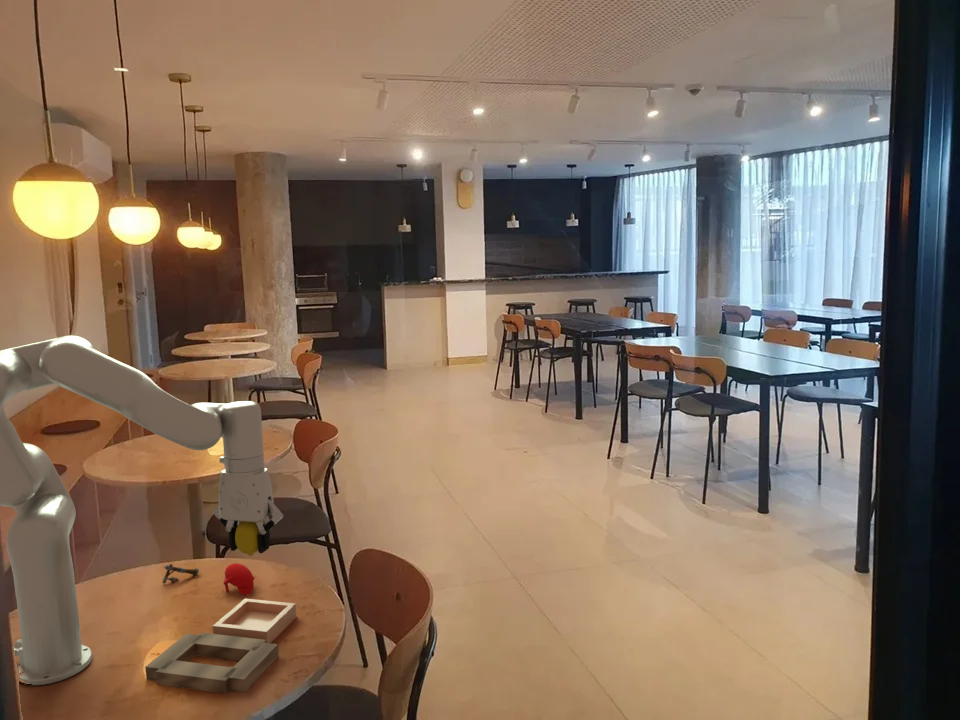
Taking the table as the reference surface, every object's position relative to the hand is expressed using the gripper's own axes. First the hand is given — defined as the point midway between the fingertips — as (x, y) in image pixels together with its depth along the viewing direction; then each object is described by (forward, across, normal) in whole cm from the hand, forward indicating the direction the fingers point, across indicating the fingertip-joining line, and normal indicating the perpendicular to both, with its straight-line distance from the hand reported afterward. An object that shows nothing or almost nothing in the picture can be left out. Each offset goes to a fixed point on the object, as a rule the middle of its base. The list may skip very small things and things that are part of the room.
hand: (250, 548), depth 149 cm
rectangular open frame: (+17, 0, -15) cm, 23 cm away
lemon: (+2, 0, 0) cm, 2 cm away
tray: (+17, 0, 0) cm, 17 cm away
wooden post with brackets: (+18, -30, +18) cm, 39 cm away
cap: (+18, -13, +15) cm, 27 cm away
